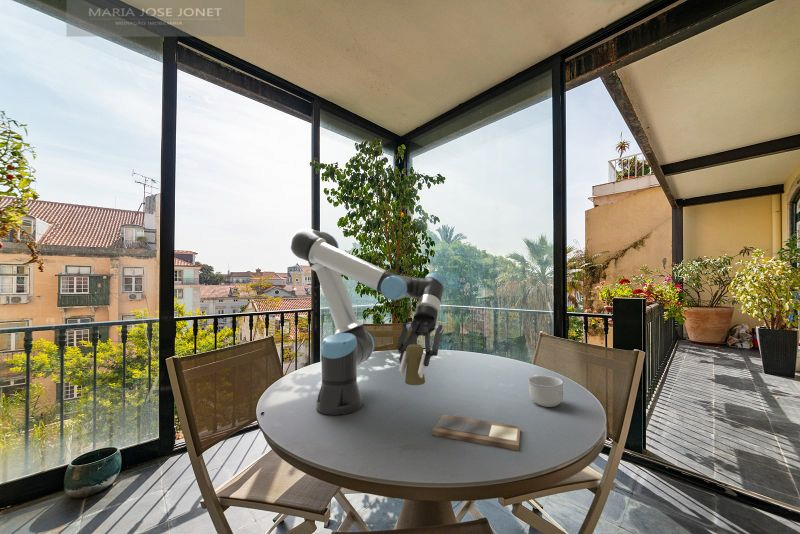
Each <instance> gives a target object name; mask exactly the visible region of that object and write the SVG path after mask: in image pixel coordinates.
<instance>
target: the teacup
mask: <svg viewBox="0 0 800 534" xmlns="http://www.w3.org/2000/svg"><path fill="white" fill-rule="evenodd" d="M527 382H528V390H529V391H528V393H529V396H530V398H531V400H532V401H534V402H535V404H537V405H538V406H540V405H541V406H540V407H546V408H553V407H557V406H559V405H560V404H561V403H562V402H563V400H564V385H563V384H564V381H563V380H562V379H560V378H558V377H555V376H551V375H539V374H534V375H533V376H530V377H529V378H528V379H527Z"/></svg>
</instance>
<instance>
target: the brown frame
mask: <svg viewBox="0 0 800 534" xmlns="http://www.w3.org/2000/svg"><path fill="white" fill-rule="evenodd" d="M432 436H435V437H441V438H446V439H453V440H459V441H463V442H469V443H473V444H474V443H475V444H479V445H480V444H481V445H486V446H491V447H496V448H501V449H507V450H513V451H520V441H521V426H520V425H514V424H513V425H512V424H508V423H501V422H496V421H495V422H494V421H487V420H482V419H475V418H474V419H473V418H468V417H461V416H454V415H447V414H442V416H441V417H440V419H439V420H438V422H437V423H436V425H435V426H434V428H433V429H432Z"/></svg>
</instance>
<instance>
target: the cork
mask: <svg viewBox="0 0 800 534" xmlns="http://www.w3.org/2000/svg"><path fill="white" fill-rule="evenodd" d="M406 353H407V355H408V360H407V365H406V369H405V379H404V380H405V381H404V383H405V384H407V385H409V386H422V385H425V384H426V378H425V373H424V374H423V378H420V377H419V374H418V370H419V366H420V362H421V358H422V354H423V353H424V347H423V346H422V345H421V344H417V343H416V344H415V343H413V344H411V345H408V346H407V348H406Z"/></svg>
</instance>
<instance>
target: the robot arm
mask: <svg viewBox="0 0 800 534" xmlns="http://www.w3.org/2000/svg"><path fill="white" fill-rule="evenodd" d="M289 245H290V251H291V252H292V254H294V256H296V257H297V258H299V259H302V260H303V261H306V262H308V265H309V268H310V270H312V271H314V272H315V273H316V276H317V278H318V281H319V284H320V287H321V290H322V293H323V295H324V297H325V301H326V304H327V306H328V307H327V308H328V309H329V312H330V314H331V315H330V316H331V318H332V321H333V324H334V326H335V332H334V334H331V335H328V336H326V337H324V339H322V342H321V348H320V349H321V350H320V353H321V386H320V389H319V391H318V395H317V399H316V411H317V410H318V411H317V412H318V413H320V412H321V413H320V414H323V415H327V414H329V415H328V416H339V414H342V415H347V413H348V414H351V413H353V412H356V411H358V410H359V409H360V408H362V406H363V397H362V394H361V393H362V392H361V390H360V387H359V384H358V381H357V380H358V376H357V375H358V374H357V373H358V372H357V371H358V366H359V365H360V364H362V363H364V362H366V361H367V360H368V359H369V358H370V357H371V356H372V354H373V352H374V349H375V342H374V338H373V336H372V335H371V333H369V332H368V331H366V329H365V326H364V324H363V323H362V322H360V321H359V320H358V318H357V316H356V313H355V310H354V308H353V305H352V302H351V299H350V296H349V294H348V291H347V288H346V286H345V282H344V280H343V278H342V275H343V276H345V277H346V278H348V279H351V280H353V281H355V282H358V283H360V284H362V285H364V286H366V287H368V288H370V289H373V290H374V291H377V292H379V293H380V294H382V295H383V296H384V297H385V298H386V299H388V300H391V301H398V300H401V299H403V298H412V299H418V302H417V305H416V309H415V312H414V316H413V319H412V321H410V323H406V322H403V323H402V330H401V334H400V336H399V338H398V339H399V340H398V342H397V345H396V349H397V351H398V353H399V354H400V356H399V359H398V361H399V363H400V364H399V368H398V372H399V374H400V376H404V375H405V373H406V369H407V360H408V355H407V353H406V348H407V346H408V345H411V344H415V342H416V340H417V339H418V338H419V337H420V336H423V337H424V346H425V347H424V348H425V350H424V351H425V352H423V354H422V358H421V362H420V366H419V370H418V374H419V377H420V378H423V374H424V375H425V373H424V372H425V369H426V367H429V364H430V361H431V357H437V356H438V354H439V353H438V352H439V348H440V344H441V338H442V335H443V333H444V331H445V330H444V327H443V325H442V324H439V325H438V324H437V320H438V316H439V315H438V314H439V311H440V307H441V304H442V299H443V293H444V292H445V285H446V283H445V282H446V281H445V278H444V277H443V276H442V275H441V274H440V273H437V272H436V273H435V272H431V273H428V274H427V275H425V277H414V276H406V275H397V274H396V273H392V272H390V271H388V270H386V269H384V268H382V267H380V266H377V265H375V264H373V263H371V262H368V261H366V260H364V259H362V258H360V257H357V256H355V255H353V254H351V253H349V252H346V251H344V250H342V249H340V247H339V244H338V241H337V239H336V238H335V237H334V236H333V235H331V234H330V233H328V232H324V231H319V230H315V229H312V228H307V227H306V228H305V227H304V228H301V229H298V230H297V231H295V232H294V233H293V234H292V236H291V238H290V243H289ZM411 329H412V330H411ZM434 331H435V333H434V337H433V343H432V348H431V333H432V332H434ZM409 332H410V334H409ZM408 335H409V336H408Z"/></svg>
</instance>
